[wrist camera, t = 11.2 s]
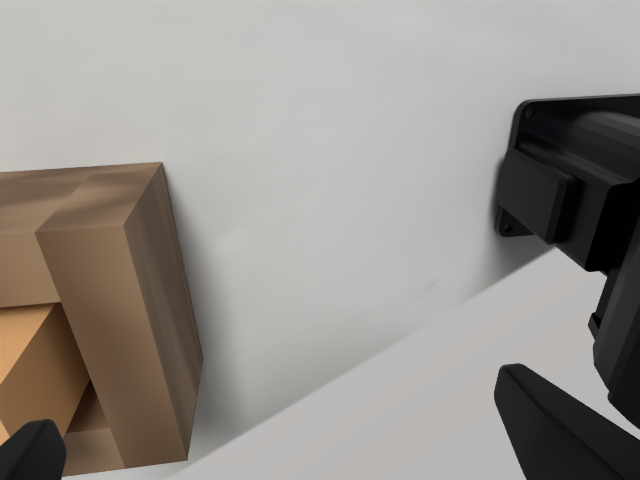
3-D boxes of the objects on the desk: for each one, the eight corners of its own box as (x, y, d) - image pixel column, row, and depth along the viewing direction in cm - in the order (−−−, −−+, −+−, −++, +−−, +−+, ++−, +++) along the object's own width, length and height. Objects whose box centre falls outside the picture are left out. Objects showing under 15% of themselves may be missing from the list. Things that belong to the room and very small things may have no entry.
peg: (90, 252, 19) (-11, 400, 12) (113, 325, 20) (39, 491, 14) (-10, 260, 18) (-177, 418, 11) (24, 334, 20) (-101, 509, 13)
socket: (161, 161, 18) (122, 225, 13) (202, 358, 23) (187, 460, 18) (-126, 180, 17) (-295, 257, 12) (-15, 382, 22) (-98, 498, 17)
